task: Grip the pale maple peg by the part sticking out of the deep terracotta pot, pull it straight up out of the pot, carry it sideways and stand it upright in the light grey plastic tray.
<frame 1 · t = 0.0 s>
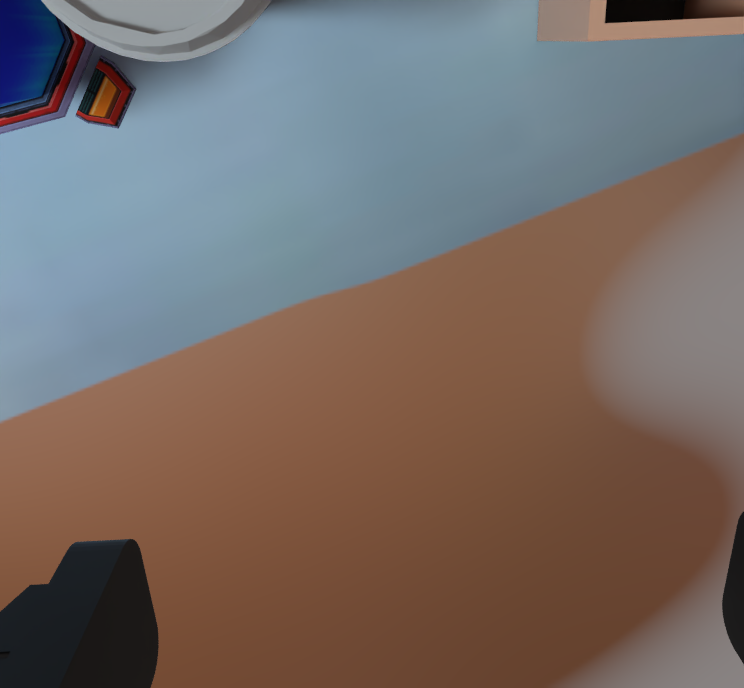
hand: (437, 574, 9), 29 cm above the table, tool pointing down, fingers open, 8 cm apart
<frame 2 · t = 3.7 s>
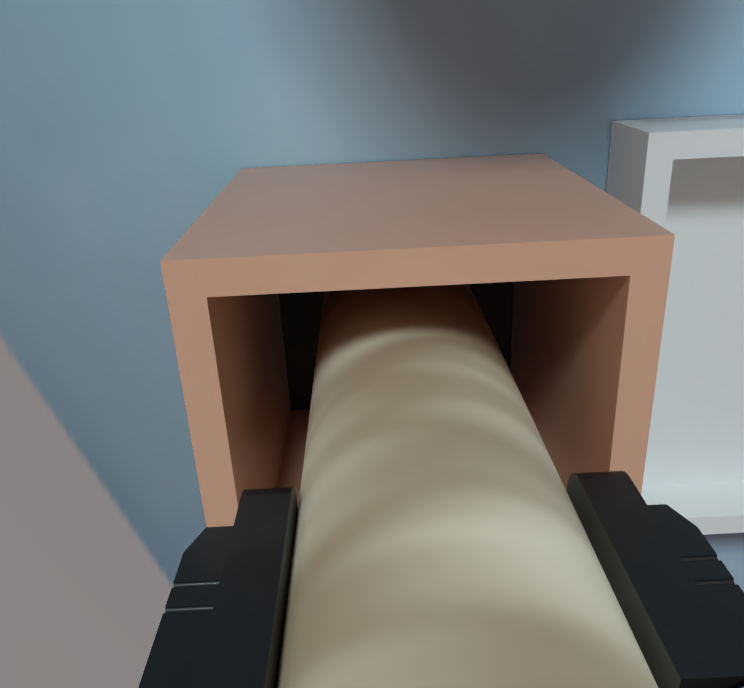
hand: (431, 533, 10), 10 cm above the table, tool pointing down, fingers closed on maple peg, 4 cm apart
maple peg: (417, 434, 13), in the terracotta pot, touching gripper
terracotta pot: (396, 302, 19), on the table
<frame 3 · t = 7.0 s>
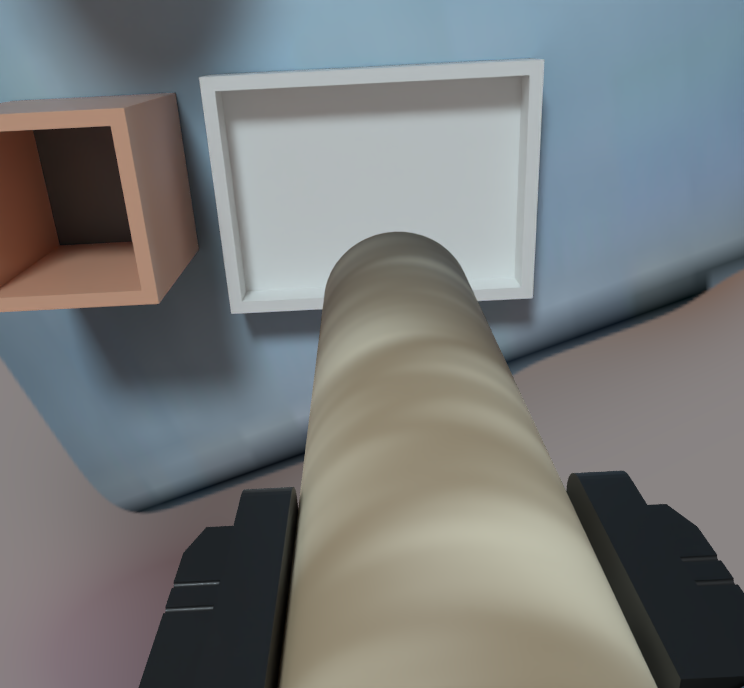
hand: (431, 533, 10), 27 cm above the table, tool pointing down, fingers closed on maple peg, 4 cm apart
maple peg: (417, 436, 13), point 24 cm above the table, touching gripper
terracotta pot: (110, 178, 34), on the table
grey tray: (375, 185, 35), on the table
when the fingers open (12 cm above the table, at t = 10.4 s): maple peg drops 1 cm, resting on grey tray.
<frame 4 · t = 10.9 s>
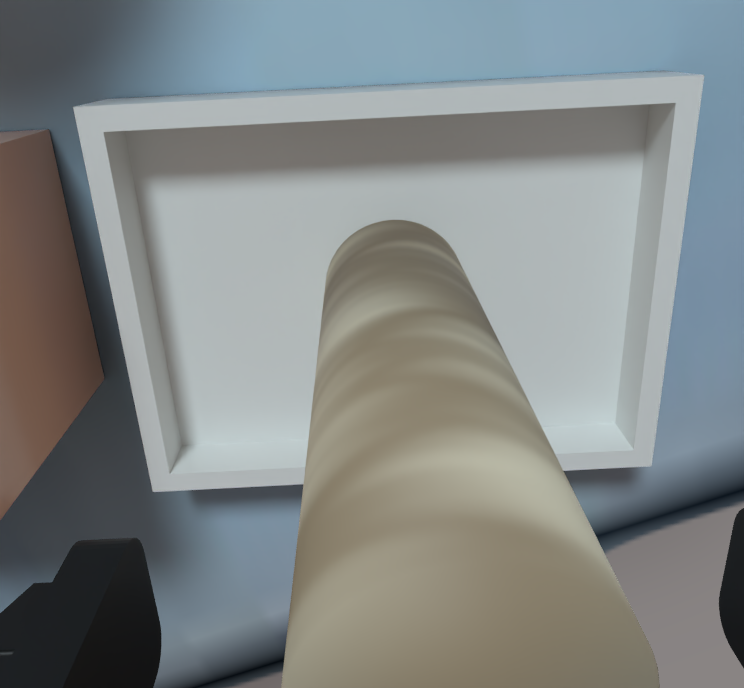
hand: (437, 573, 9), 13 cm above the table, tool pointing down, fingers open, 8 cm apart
maple peg: (414, 401, 14), in the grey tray, point 8 cm above the table
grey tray: (392, 279, 21), on the table
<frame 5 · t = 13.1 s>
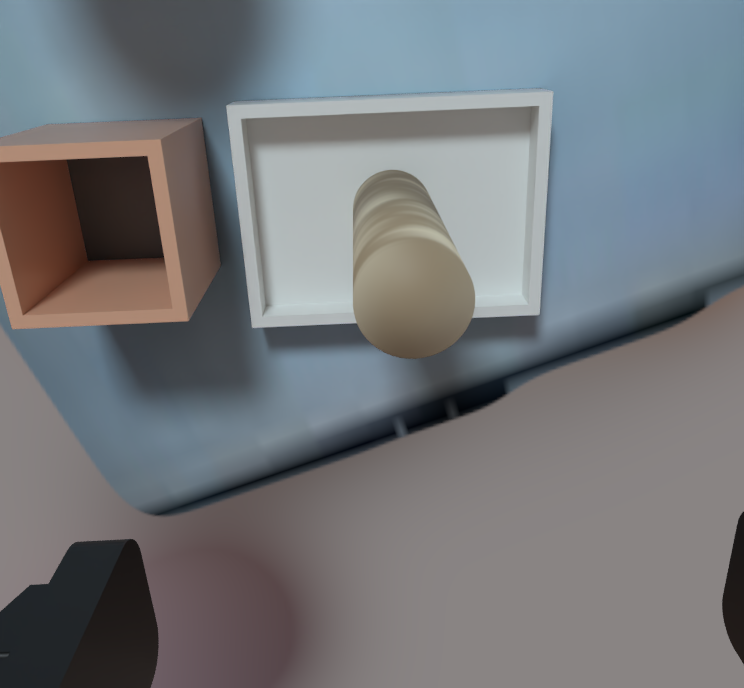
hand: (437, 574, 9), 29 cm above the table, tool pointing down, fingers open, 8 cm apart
maple peg: (400, 245, 29), in the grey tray, point 8 cm above the table
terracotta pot: (137, 198, 36), on the table
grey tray: (390, 206, 36), on the table
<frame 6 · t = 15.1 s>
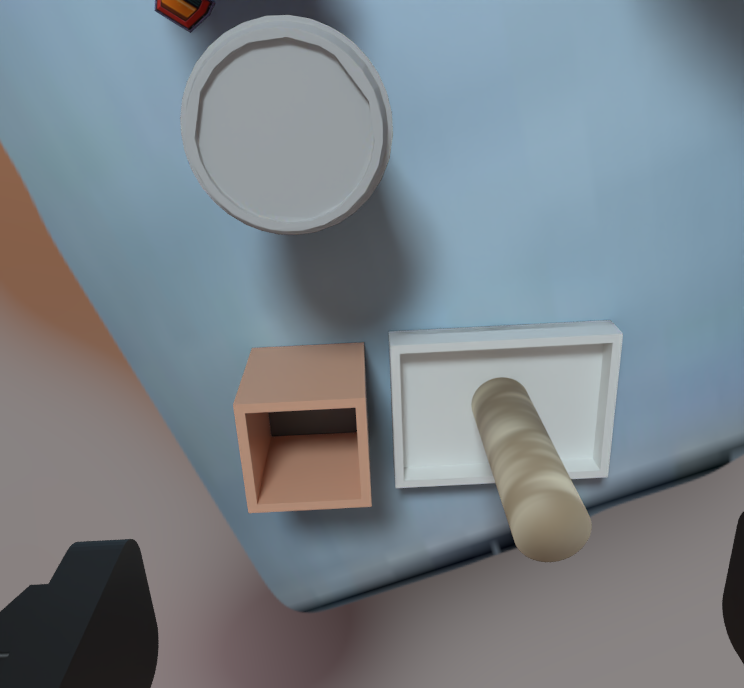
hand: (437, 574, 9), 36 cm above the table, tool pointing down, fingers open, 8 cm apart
maple peg: (522, 457, 42), in the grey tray, point 8 cm above the table
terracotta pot: (312, 394, 49), on the table
disposable coffee cup: (303, 108, 41), on the table
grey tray: (497, 397, 49), on the table
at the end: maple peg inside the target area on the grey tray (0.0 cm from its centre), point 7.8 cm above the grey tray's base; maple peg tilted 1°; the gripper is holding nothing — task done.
